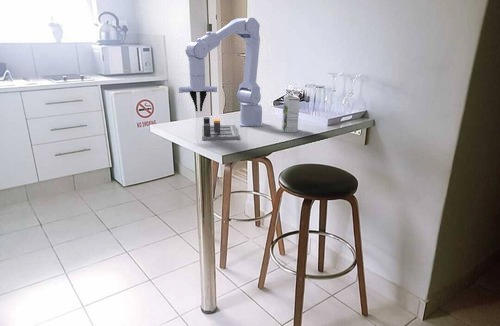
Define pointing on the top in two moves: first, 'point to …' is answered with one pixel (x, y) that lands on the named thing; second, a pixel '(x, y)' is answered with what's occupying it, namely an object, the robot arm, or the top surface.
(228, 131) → the panel
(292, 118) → the syrup box
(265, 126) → the top surface
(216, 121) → the toggle
